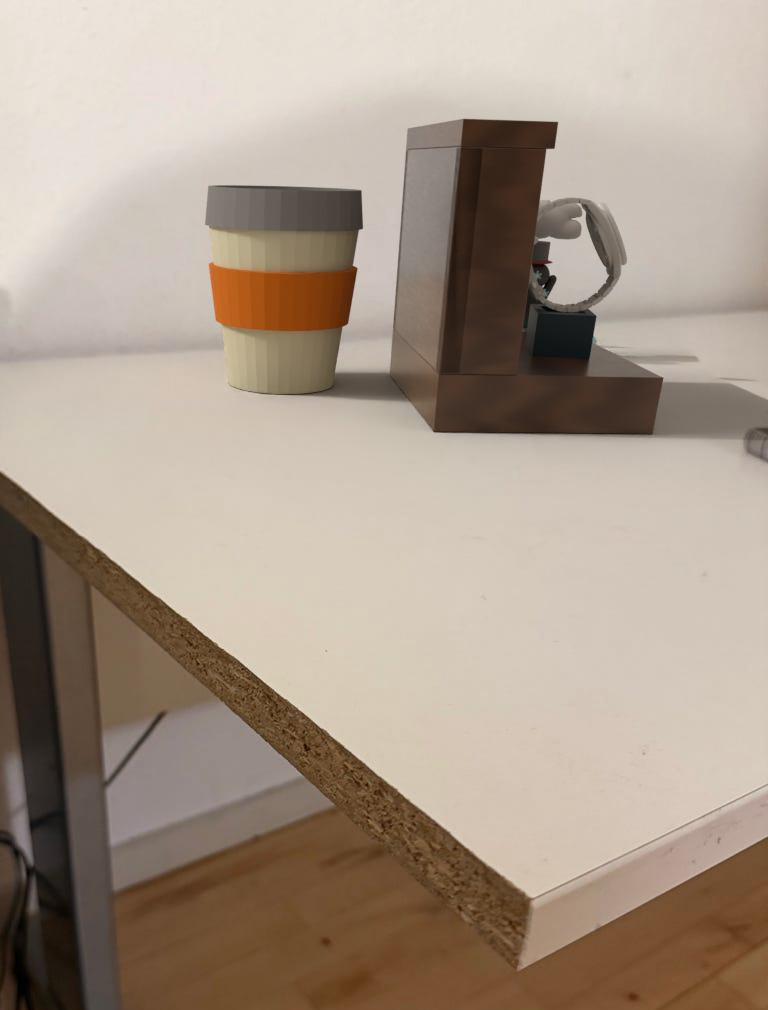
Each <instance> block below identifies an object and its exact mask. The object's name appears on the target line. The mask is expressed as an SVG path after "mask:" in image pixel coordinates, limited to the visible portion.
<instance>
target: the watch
mask: <svg viewBox="0 0 768 1010" xmlns="http://www.w3.org/2000/svg"><path fill="white" fill-rule="evenodd" d="M571 203H576V204H580V207H581V208H582V210H583V211H584V212H585V223H586V229H587V230H588V234H589V237H590V240H591V242H592V244H593V245H592V246H593V247H594V249H595V252H596V254H597V256H598V258H599V260H600V262H601V263H602V265H603V266H604V267H605V270H606V271H605V272H606V274H607V275H608V276H607V278H606V279H605V283H603V284H602V285H601V287H600V288H599V289H598V290H597V292H595V293H593V294H592V295H591V296H589V297H588V298H587V299H584V300H581V301H579V302H577V303H566V304H561V303H555V302H553V301H550V300H549V299H548V298H547V299H545V298H544V297H543V296H542V294H543V291H544V290H543V288H542V287H543V286H542V287H541V286H540V285H539V284H538V282H537V280H536V277H535V274H534V271H533V267H532V263H531V271H530V279H529V286H528V289H529V291H530V293H531V294H532V296H533V298H534V299H535V300H536V302H537V301H538V299H539V300H540V301H541V302H542V303H543V304H530V312H529V319H528V327H527V334H526V341H525V344H526V346H527V348H528V350H529V351H530V353H531V355H532V356H548V357H568V358H588V359H590V353H591V347H592V341H593V336H595V330H596V329H595V328H596V322H597V315H596V314H595V312H593V311H592V310H590V308H593V306H596V305H598V304H599V303H602V301H603V300H604V298H607V296H608V295H610V294H611V292H612V291H613V290H614V288H615V286H616V285H617V283H618V282H619V280H620V278H621V275H622V266H625V265H627V262H628V257H627V252H626V249H625V248H626V247H625V244H624V241H623V237H622V235H621V233H620V231H619V228H618V225H617V223H616V220H615V218H614V216H613V215H612V212H611V210H610V209H609V207H608V205H607V204H606V203H605V202H604V201H603V200H601V201H599V202H598V203H596V202H594V201H593V200H590V199H587V198H581V197H564V198H558V199H556V200H553V201H551V202H550V203H549V204H547V205H545V206H544V207H542V208H541V209H540V210H539V211H538V218H537V222H538V221H539V220H540V219H541V218H542V217H543V215H544V214H546V213H548V212H549V211H551V210H553V209H554V208H555V207H559V206H562V205H565V204H571ZM544 304H545V305H544Z"/></svg>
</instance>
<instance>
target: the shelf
mask: <svg viewBox="0 0 768 1010" xmlns="http://www.w3.org/2000/svg"><path fill="white" fill-rule="evenodd" d="M558 127H559V121H549V120H548V121H546V120H517V119H516V120H515V119H489V118H488V119H487V118H486V119H485V118H484V119H483V118H459V119H453V120H449V121H443V122H437V123H436V122H435V123H432V124H431V123H430V124H425V125H420V126H413V127H408V128H407V129H406V143H405V144H406V145H405V158H404V171H403V172H404V173H403V186H402V199H401V212H400V213H401V214H400V227H399V240H398V242H399V243H398V254H397V255H398V256H397V268H396V269H397V271H396V283H395V298H394V311H393V324H392V336H391V350H390V364H389V377H391V378H392V380H393V381H394V383H395V384H396V385H397V386H398V388H399V389H400V390H401V392H402V394H404V395H405V396H406V398H407V399H408V400H409V402H410V403H411V404H412V406H413V407H414V408H415V410H416V412H418V414H419V415H420V416H421V417H422V418H423V420H424V422H426V424H427V425H428V426H429V428H430V429H431V430H432V432H434V433H435V432H436V433H438V432H439V433H441V432H442V433H446V432H447V433H519V434H521V433H524V434H525V433H531V434H533V433H535V434H613V435H614V434H615V435H616V434H619V435H620V434H622V435H626V434H627V435H628V434H629V435H630V434H631V435H652V434H653V433H654V428H655V423H656V418H657V412H658V408H659V403H660V398H661V392H662V388H663V383H664V377H663V376H660V375H659V374H657V373H655V372H653V371H651V370H648V369H646V368H645V367H643V366H640V365H638V364H636V363H634V362H632V361H630V360H629V359H626V358H624V357H622V356H620V355H618V354H616V353H614V352H612V351H610V350H608V349H606V348H604V347H602V346H600V345H599V344H597V343H596V344H594V343H592V347H591V353H590V359H588V358H568V357H548V356H532V355H531V353H530V351H529V350H528V348H527V346H526V344H525V341H526V334H527V331H523V324H524V316H525V309H526V301H527V294H528V286H529V279H530V271H531V263H532V256H533V248H534V241H535V233H536V226H537V218H538V210H539V203H540V200H541V194H542V187H543V179H544V171H545V166H546V165H545V164H546V156H547V150H554V149H555V148H556V143H557V135H558Z"/></svg>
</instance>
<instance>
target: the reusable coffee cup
mask: <svg viewBox="0 0 768 1010" xmlns="http://www.w3.org/2000/svg"><path fill="white" fill-rule="evenodd" d="M206 199H207V200H206V210H205V219H204V220H205V221H204V225H205V226H208V228H209V236H210V244H211V252H212V261H211V262H210V263H208V269H209V270H208V271H209V279H210V286H211V293H212V294H211V295H212V301H213V310H214V319H215V321H216V322H217V323H219V324H220V326H221V333H222V341H223V349H224V358H225V364H226V375H227V382H228V384H229V385H230V386H232V387H233V388H237V389H239V390H243V391H247V392H253V393H261V394H269V395H270V394H272V395H301V394H302V395H303V394H311V393H318V392H323V391H326V390H329V389H331V388H333V386H334V380H335V376H336V375H335V374H336V367H337V362H338V356H339V351H340V345H341V340H342V333H343V327H346V326H347V325H348V324H349V322H350V316H351V315H350V314H351V309H352V305H353V304H352V303H353V298H354V292H355V288H356V287H355V286H356V280H357V276H358V275H357V274H358V269H359V268H358V267H357V266H354V261H355V256H356V250H357V244H358V238H359V234H360V233H359V232H360V231H361V230H363V229H364V218H363V216H364V215H363V214H364V213H363V194H362V189H357V188H341V187H340V188H339V187H338V188H337V187H320V186H319V187H318V186H317V187H315V186H290V185H288V186H286V185H285V186H282V185H248V184H247V185H243V184H241V185H239V184H238V185H235V184H230V185H229V184H226V185H225V184H224V185H223V184H221V185H220V184H218V185H216V184H214V185H208V186H207V196H206Z"/></svg>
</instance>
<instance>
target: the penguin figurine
mask: <svg viewBox="0 0 768 1010" xmlns="http://www.w3.org/2000/svg"><path fill="white" fill-rule="evenodd" d="M551 202H552V201H551V200H550V199H540V203H539V210H540V209H541V208H542V207H544V206H545V205H547V204H549V203H551ZM539 210H538V211H539ZM582 216H583V208H582V206H581V205H579V203H571V204H565V205H562V206H559V207H555V208H554V209H553V210H551V211H549V212H548V213H546V214H544V215H543V217H542V218H541V219H540V220H539V221H538V222H537V226H536V233H535V241H534V248H533V256H532V267H533V271H534V274H535V277H536V280H537V282H538V284H539V285H540V286H541V287H542V288H543V290H544V291H543V294H542V296H543V297H544V298H545V299H547V300H548V298H549V296H550V294H551V292H552V290H553V288H554V287H555V285H556V282H557V280H558V279H557V276H556V275H555V274H550V268H549V267H550V266H551V264H553V261H552V260H549V257H550V249H551V241H546V240H541V239H546V238H549V237H550V238H553V239H556V240H576V239H578V238H580V237H581V235H582V230H583V229H582V224H581V223H580V222H579V221H578V220H576V219H577V218H581V217H582ZM530 304H543V303H542V302H541V301H540V300H539V299H538V301H537V302H536V300H535V299H534V298H533V296H532V294H531V293H530V291H529V289H528V294H527V301H526V309H525V316H524V324H523V331H527V327H528V319H529V312H530ZM544 305H545V304H544ZM592 343H594V344H596V345H597V343H598V340H597V339H596V337H595V335H593V341H592Z"/></svg>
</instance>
